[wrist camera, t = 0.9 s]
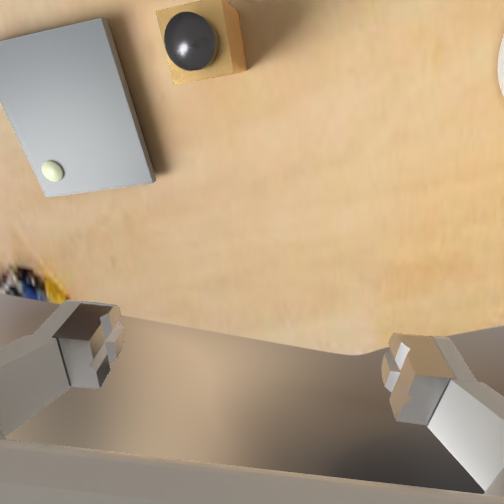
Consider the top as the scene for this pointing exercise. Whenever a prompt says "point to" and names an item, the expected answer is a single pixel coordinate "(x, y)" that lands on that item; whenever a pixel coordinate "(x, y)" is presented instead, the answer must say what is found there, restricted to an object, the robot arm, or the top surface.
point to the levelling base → (73, 109)
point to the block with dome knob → (202, 40)
